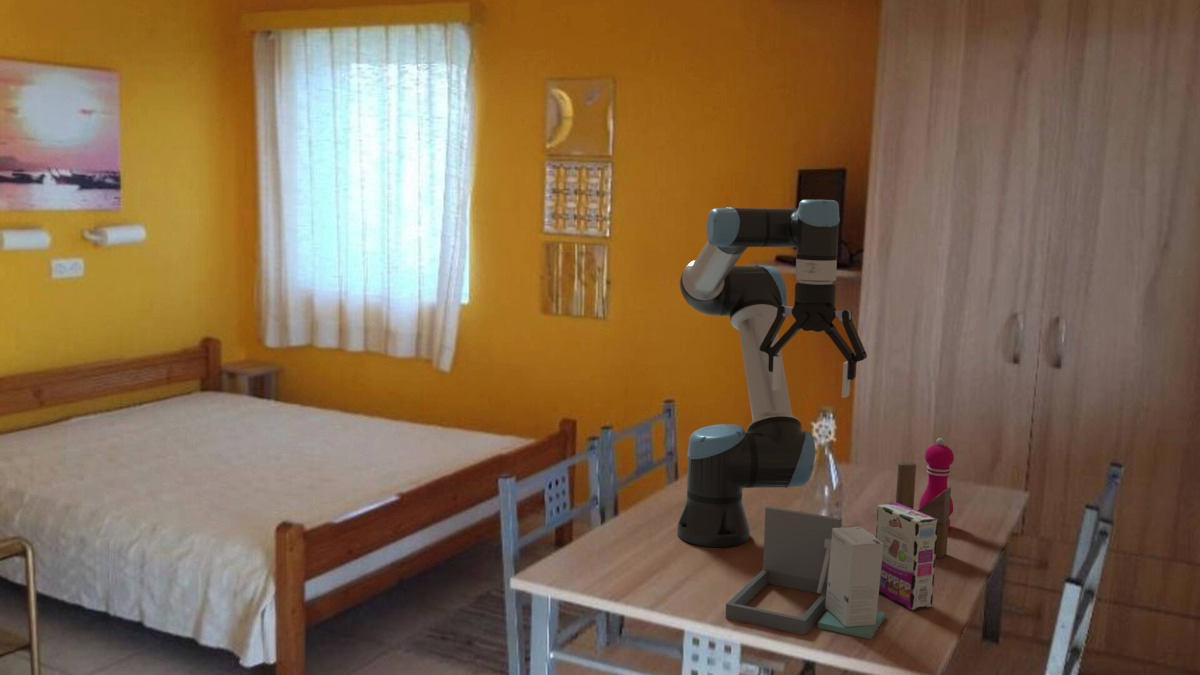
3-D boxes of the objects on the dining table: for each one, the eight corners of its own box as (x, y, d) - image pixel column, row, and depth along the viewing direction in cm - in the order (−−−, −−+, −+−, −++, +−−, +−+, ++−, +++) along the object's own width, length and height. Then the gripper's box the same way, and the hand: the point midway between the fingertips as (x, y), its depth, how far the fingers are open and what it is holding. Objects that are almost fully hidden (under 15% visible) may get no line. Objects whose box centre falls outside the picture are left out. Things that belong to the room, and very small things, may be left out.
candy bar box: (934, 607, 188) (939, 518, 185) (911, 612, 186) (917, 522, 183) (892, 585, 198) (897, 501, 195) (871, 589, 196) (876, 503, 193)
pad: (817, 627, 178) (817, 622, 178) (833, 607, 187) (834, 602, 187) (870, 639, 174) (871, 633, 174) (884, 617, 183) (885, 612, 183)
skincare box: (824, 609, 183) (828, 527, 181) (855, 606, 185) (860, 524, 183) (847, 629, 175) (851, 543, 173) (879, 625, 177) (884, 540, 175)
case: (725, 617, 182) (728, 536, 180) (764, 580, 199) (767, 506, 197) (804, 635, 175) (808, 551, 173) (837, 595, 193) (841, 518, 191)
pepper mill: (916, 529, 231) (921, 439, 228) (919, 519, 237) (924, 432, 234) (950, 533, 228) (956, 443, 225) (953, 523, 235) (959, 436, 232)
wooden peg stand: (940, 559, 212) (946, 472, 210) (889, 547, 219) (894, 463, 216) (947, 554, 215) (952, 468, 213) (896, 542, 222) (901, 459, 219)
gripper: (745, 279, 201) (741, 388, 204) (877, 287, 190) (870, 403, 193) (759, 276, 208) (755, 382, 211) (886, 284, 196) (880, 396, 199)
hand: (810, 392), depth 202 cm, fingers open, 13 cm apart
